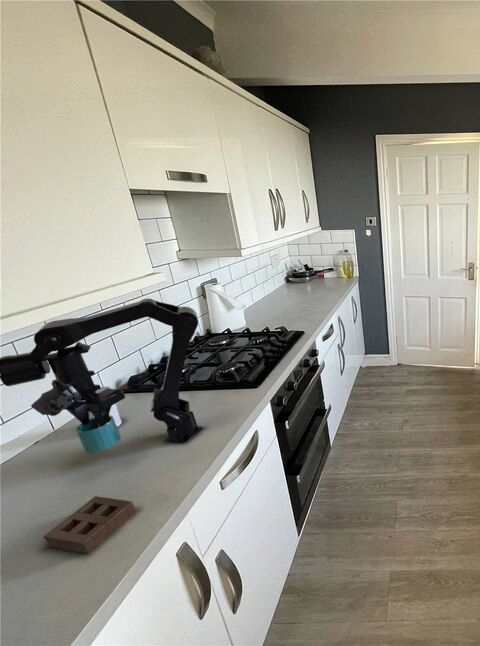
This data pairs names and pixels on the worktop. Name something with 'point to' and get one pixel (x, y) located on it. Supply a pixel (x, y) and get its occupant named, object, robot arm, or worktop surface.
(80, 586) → the worktop surface
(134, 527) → the worktop surface
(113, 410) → the cup
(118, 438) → the teal round container
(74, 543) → the stand
